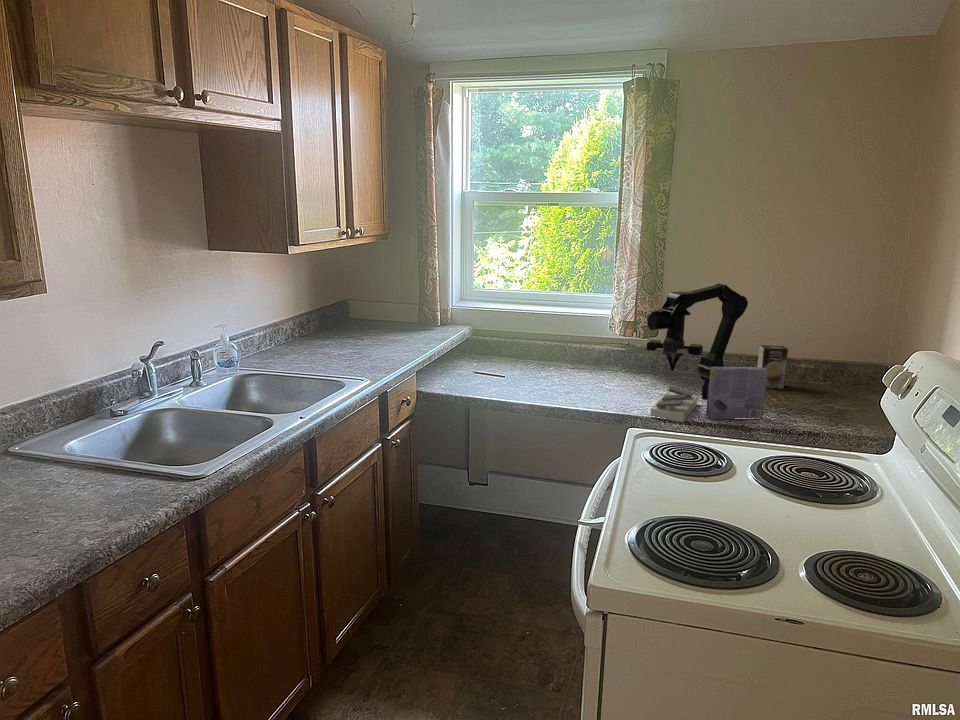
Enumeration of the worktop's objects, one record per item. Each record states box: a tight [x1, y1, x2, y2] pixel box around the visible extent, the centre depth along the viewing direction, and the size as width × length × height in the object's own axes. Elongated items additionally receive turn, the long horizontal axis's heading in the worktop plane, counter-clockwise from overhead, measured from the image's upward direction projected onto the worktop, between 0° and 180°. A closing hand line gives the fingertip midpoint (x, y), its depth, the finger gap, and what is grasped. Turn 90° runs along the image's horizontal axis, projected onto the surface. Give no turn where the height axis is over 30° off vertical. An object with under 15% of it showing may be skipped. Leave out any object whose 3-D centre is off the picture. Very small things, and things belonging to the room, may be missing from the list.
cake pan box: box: [705, 366, 768, 420], centre depth 231 cm, size 19×5×18 cm, turn 92°
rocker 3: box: [667, 385, 694, 398], centre depth 247 cm, size 8×4×1 cm, turn 62°
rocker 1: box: [661, 394, 688, 401], centre depth 240 cm, size 8×4×1 cm, turn 62°
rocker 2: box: [655, 400, 683, 407], centre depth 233 cm, size 8×4×1 cm, turn 62°
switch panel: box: [649, 391, 698, 423], centre depth 240 cm, size 11×23×4 cm, turn 152°
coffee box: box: [756, 344, 789, 390], centre depth 269 cm, size 9×6×16 cm
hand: (672, 370), depth 246 cm, fingers closed
